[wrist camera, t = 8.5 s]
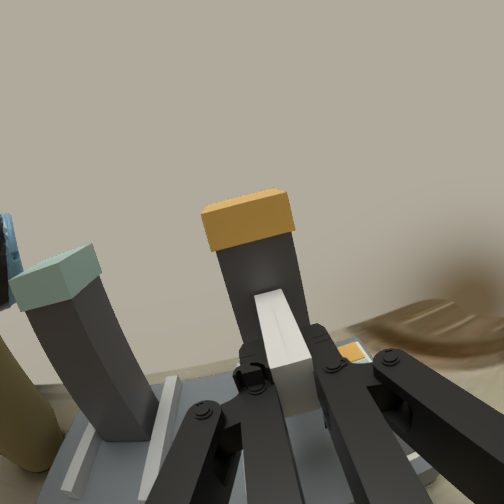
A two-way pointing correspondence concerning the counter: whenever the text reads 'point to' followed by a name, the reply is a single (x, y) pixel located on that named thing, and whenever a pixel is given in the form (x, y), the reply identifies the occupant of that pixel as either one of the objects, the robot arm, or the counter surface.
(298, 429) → the console
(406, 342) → the counter surface
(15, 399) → the squeeze bottle
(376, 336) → the counter surface
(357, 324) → the counter surface
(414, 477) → the robot arm
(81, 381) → the mint capped grey block
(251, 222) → the orange capped grey block
